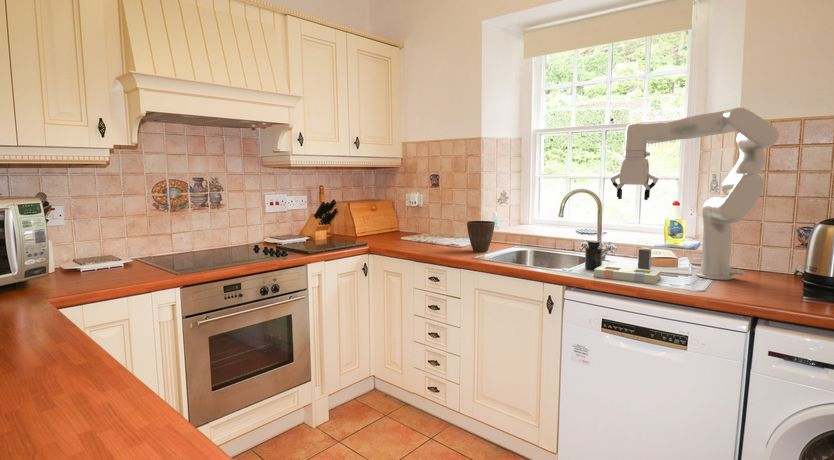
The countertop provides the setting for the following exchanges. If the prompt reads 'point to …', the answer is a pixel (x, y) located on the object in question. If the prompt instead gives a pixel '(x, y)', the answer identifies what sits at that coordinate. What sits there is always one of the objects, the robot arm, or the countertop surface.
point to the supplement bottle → (593, 255)
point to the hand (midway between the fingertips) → (632, 199)
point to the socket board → (627, 273)
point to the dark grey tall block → (644, 258)
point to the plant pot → (480, 234)
